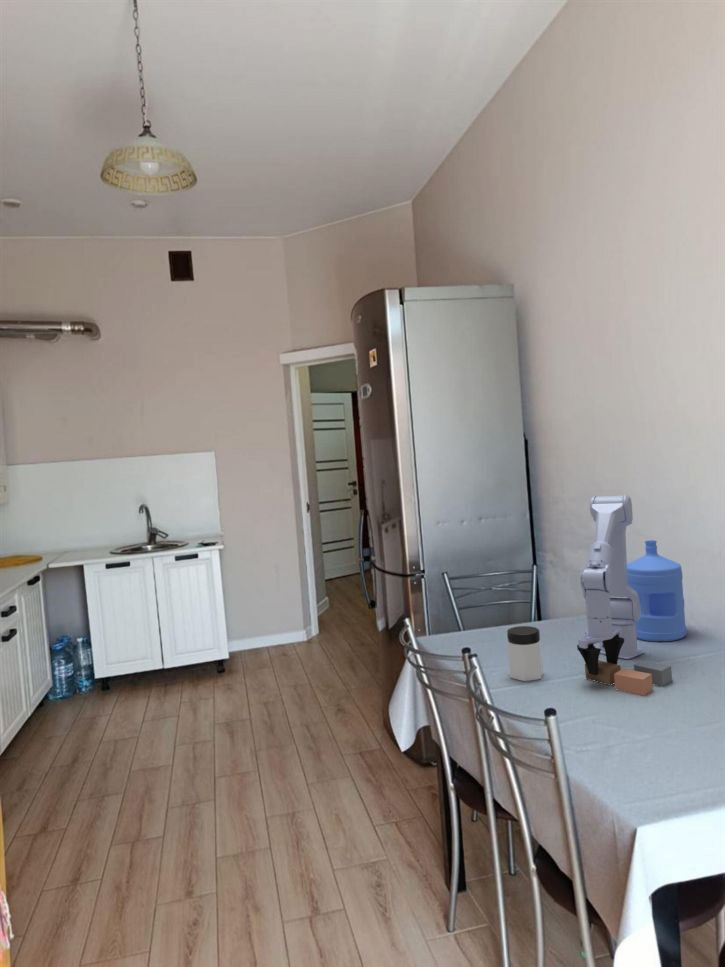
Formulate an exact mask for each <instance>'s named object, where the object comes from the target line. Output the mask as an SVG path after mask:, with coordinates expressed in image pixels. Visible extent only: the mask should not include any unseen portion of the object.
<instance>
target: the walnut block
mask: <svg viewBox="0 0 725 967" xmlns="http://www.w3.org/2000/svg"><path fill="white" fill-rule="evenodd" d="M620 670H621V664H618V663H617V664H612V663H608V662H607V661H603V660H599V659H598V674H597V675H592V674H589V672H588V669H587V666H586V663H585V664H584V671H585V679H586V678H587V679H586V680H588V679H591V680H595V681H598V682H597V683H599V682H602V683H606V684H610V685H611V684H613V683H615V680H614V674H615V673H616V672H618V671H620ZM591 680H590V681H591ZM595 681H594V682H595ZM602 683H601V684H602ZM606 684H605V685H606ZM610 685H609V686H610ZM613 685H614V684H613ZM611 686H612V685H611Z"/></svg>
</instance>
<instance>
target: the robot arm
mask: <svg viewBox="0 0 725 967" xmlns="http://www.w3.org/2000/svg"><path fill="white" fill-rule="evenodd" d="M589 511H590V515H591V517H592V520H593V521H594V522H595V533H594V534H595V535H594V536H595V538H594V542H593V543H592V544H590V545H589V548H588V554H587V560H586V565H585V569H581V572H580V587H581V590H582V597H583V598H584V600H585V610H586V612H585V614H586V626H587V630H585V631H584V635H583V636H582V637H581V638H579V639H577V640H578V641H577V642H578V644H576V648H577V650H578V652H579V654H580V655H581V656H582V659H583V660H584V663H585V664H586V666H587V669H588V672H589V674H592V675H597V674H598V660H599V658H600V654H602V655H605V658H606V662H608V663H612V664H617V665H618V661H619V658H620V659H623V660H624V659H625V660H629V659H630V660H631V659H633V658H635V657H638V656H641V655H643V654H645V650H642V649H639V648H638V638H637V636H636V622H638V621H639V620H640V618H641V604H640V599H639V595H638V593H637V592H636V591H635V590H633V589H632V588H631V587H629V586H628V579H627V564H628V560H627V558H628V557H627V539H626V532H627V527H628V526H630V525H632V524H633V520H634V519H633V518H634V517H633V515H634V514H633V503H632V499H631V497H630V495H629V494H624V495H623V494H622V495H598V496H597V495H594V496H592V497H591V499H590V501H589ZM596 644H598V645H599V647H596V646H595V645H596Z"/></svg>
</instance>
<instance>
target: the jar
mask: <svg viewBox="0 0 725 967" xmlns="http://www.w3.org/2000/svg"><path fill="white" fill-rule="evenodd" d="M506 632H507V635H506V636H507V644H506V645H507V653H508V666H509V667H508V668H509V677H510V679H514V680H517V681H522V682H529V681H537V680H541V679H542V677H543V674H544V668H543V656H542V640H541V636H540V630H539V628H537V627H534V626H525V625H522V626H514V627H510V628H508V629H507V631H506Z"/></svg>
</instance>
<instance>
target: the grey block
mask: <svg viewBox="0 0 725 967" xmlns="http://www.w3.org/2000/svg"><path fill="white" fill-rule="evenodd" d="M633 671H638V672H644V673H649V674H652V685H653V684H655V685H654V686H657V685H659V686H658V687H661V686H663V687H665V686H667V685H668V683H669V684H671V683H672V682H673V673H672V672H673V671H672V666H671V665H669V664H663V663H659V662H655V661H654V662H653V661H649V660H641V661H639V662H637V663H635V664H634V665H633ZM666 684H667V685H666ZM664 685H665V686H664Z"/></svg>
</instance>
